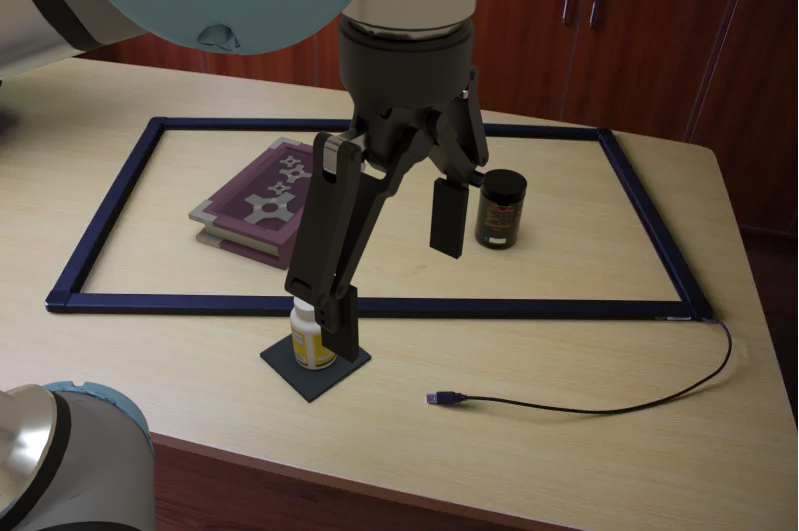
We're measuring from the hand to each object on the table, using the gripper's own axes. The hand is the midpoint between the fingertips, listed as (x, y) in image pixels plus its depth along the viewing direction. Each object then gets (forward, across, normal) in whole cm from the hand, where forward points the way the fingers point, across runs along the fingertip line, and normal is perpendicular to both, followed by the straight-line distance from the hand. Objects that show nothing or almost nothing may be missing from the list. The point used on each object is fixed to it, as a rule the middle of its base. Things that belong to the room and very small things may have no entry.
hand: (397, 297), depth 49 cm
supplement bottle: (+28, +9, +18) cm, 35 cm away
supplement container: (+29, +45, +12) cm, 55 cm away
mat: (+29, +9, +19) cm, 35 cm away
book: (+29, +30, +43) cm, 60 cm away
